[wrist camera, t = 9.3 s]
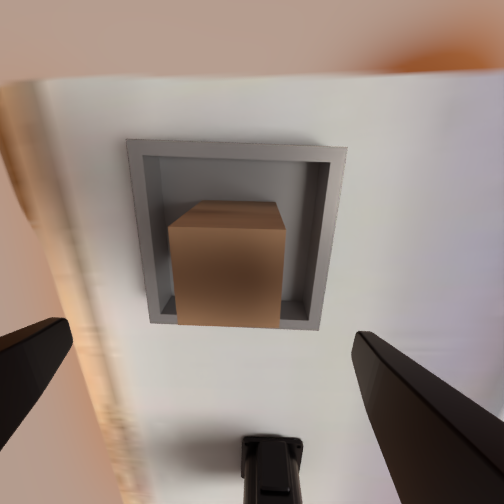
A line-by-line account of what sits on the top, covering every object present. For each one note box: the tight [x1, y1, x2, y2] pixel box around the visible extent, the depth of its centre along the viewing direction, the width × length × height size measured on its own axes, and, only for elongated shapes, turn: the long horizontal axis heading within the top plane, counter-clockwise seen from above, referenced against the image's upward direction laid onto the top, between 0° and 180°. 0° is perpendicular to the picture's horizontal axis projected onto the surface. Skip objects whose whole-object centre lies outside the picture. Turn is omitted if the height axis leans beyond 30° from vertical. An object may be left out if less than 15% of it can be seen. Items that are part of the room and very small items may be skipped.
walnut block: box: [168, 200, 286, 328], centre depth 15 cm, size 5×5×7 cm
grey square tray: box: [126, 139, 348, 331], centre depth 17 cm, size 12×12×4 cm
